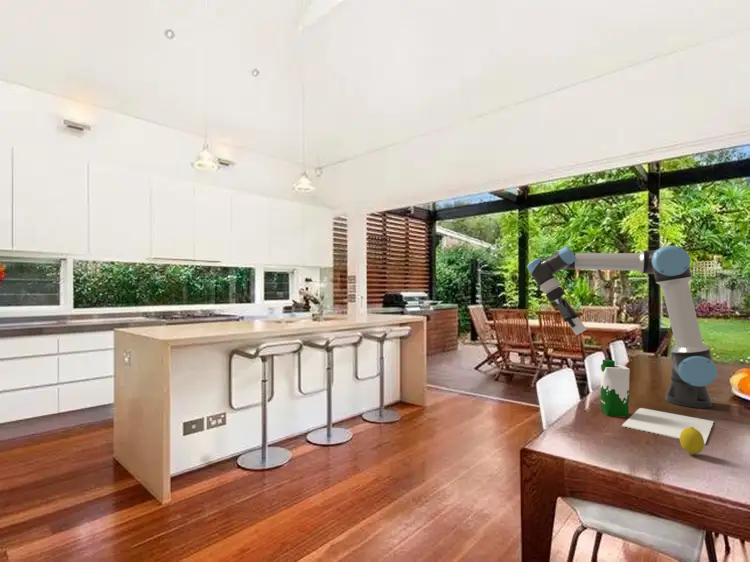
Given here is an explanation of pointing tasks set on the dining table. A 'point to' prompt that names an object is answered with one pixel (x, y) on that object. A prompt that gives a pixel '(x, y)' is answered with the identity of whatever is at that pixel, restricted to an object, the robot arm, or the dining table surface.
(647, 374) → the dining table surface
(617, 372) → the soya milk
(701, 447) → the lemon
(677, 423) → the mat
